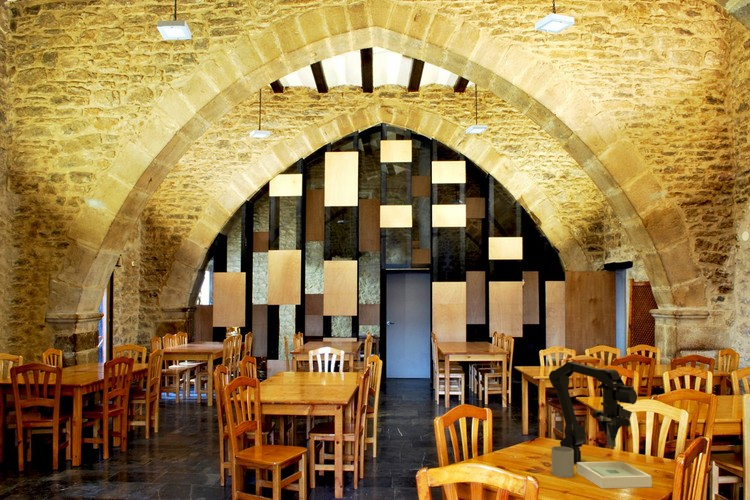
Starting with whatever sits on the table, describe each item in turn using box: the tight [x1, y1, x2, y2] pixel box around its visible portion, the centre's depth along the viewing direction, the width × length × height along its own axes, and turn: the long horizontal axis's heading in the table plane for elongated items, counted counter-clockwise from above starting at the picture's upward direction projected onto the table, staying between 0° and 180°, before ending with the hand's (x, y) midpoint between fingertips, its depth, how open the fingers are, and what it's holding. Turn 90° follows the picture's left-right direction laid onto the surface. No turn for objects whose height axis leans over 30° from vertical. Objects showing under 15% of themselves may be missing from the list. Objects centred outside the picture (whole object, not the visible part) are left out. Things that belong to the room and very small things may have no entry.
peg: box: [606, 423, 617, 448], centre depth 243 cm, size 3×3×9 cm
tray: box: [576, 461, 653, 489], centre depth 233 cm, size 20×20×4 cm
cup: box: [551, 445, 575, 479], centre depth 239 cm, size 8×8×10 cm
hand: (611, 439), depth 243 cm, fingers closed on peg, 3 cm apart
